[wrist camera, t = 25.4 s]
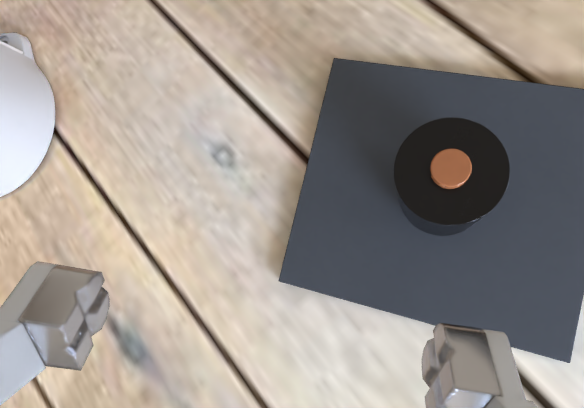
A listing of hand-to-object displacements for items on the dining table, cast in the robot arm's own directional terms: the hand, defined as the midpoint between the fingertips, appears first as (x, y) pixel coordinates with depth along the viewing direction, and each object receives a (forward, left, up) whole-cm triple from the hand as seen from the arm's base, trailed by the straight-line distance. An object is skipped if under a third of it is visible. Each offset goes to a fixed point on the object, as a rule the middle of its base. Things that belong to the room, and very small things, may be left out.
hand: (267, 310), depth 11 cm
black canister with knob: (+4, +7, -23) cm, 24 cm away
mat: (+4, +7, -23) cm, 25 cm away
